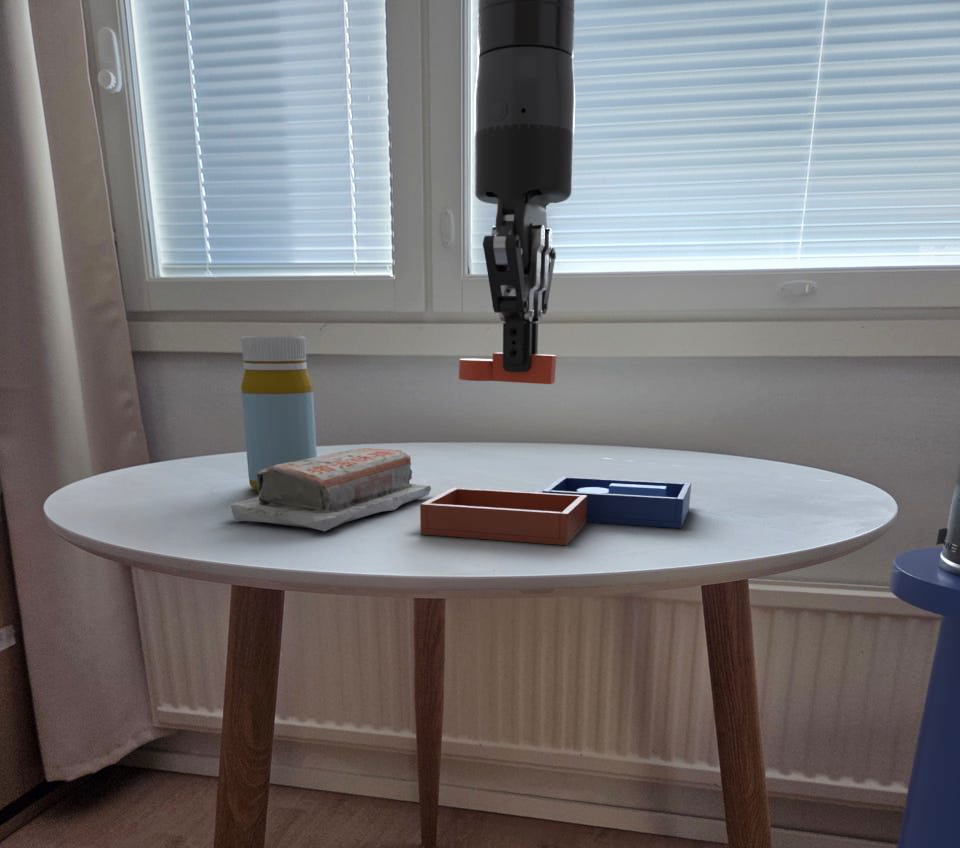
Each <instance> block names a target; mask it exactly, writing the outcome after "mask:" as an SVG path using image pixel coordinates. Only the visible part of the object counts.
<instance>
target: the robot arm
mask: <svg viewBox="0 0 960 848" xmlns="http://www.w3.org/2000/svg"><path fill="white" fill-rule="evenodd" d="M574 38H575V0H478V1H477V65H476V66H477V67H476V68H477V69H476V78H475V86H474V102H473V104H474V105H473V106H474V107H473V113H474V114H473V119H474V120H473V121H474V122H473V123H474V126H473V131H474V132H473V133H474V134H473V136H474V137H473V139H474V140H473V141H474V143H473V144H474V145H473V146H474V147H473V148H474V156H473V157H474V159H473V163H474V165H473V166H474V169H473V171H474V172H473V175H474V176H473V181H474V183H473V184H474V187H473V190H474V191H473V192H474V196H475V198H476V199H478V200H479V201H480V202H483V203H486V204H490V205H491V204H492V205H496V212H495V213H496V214H495V222H494V223H495V225H493V226H492V228H491V235H490V234H489V235H484V237H483V240H482V248H483V254H484V259H485V265H486V271H487V277H488V284H489V290H490V296H491V302H492V303H491V304H492V308H493V312H494V313H495V314H498V317H499V320H500V322H501V323H502V353H503V368H504V370H505V371H507V372H527V371H529V370H530V368H531V354H538V348H539V347H538V346H539V345H538V343H539V341H538V340H539V337H538V336H539V323H540V322H542V318H543V315H546V314H547V311H548V309H549V308H548V307H549V305H548V304H549V298H550V293H551V286H552V280H553V274H554V267H555V261H556V258H557V253H556V250H555V247H553V230H552V228H551V227H548V220H547V212H546V210H547V206H548V205H549V204H558V203H562V202H565V201H567V200H568V199H570V197H571V196H572V194H573V177H574V176H573V173H574V146H575V144H574V143H575V115H576V113H575V111H576V86H575V75H574V46H575V45H574V41H575V39H574ZM949 509H950V510H949V515H948V521H947V527H944V528H938V533H937V539H936V543H935V545H942V547H943V551H942V552H941V555H940V560H939V566H940V567H941V568H942V569H944V570H945V571H947V572H949V573H952V574H954V575H957V576H960V462H959V463H958V468H957V474H956V478H955V484H954V490H953V494H952V500H951V505H950V508H949Z"/></svg>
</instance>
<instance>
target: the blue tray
mask: <svg viewBox="0 0 960 848" xmlns="http://www.w3.org/2000/svg"><path fill="white" fill-rule="evenodd" d="M611 483H616V484H634V485H653V486H667V493H666V497H657V496H640V495H622V494H605V493H588V492H577V489H579V488H586V487H599V488H606V489H609V485H610V484H611ZM691 491H692V483H689V482H685V483H684V482H675V481H674V482H673V481H671V482H670V481H656V480H655V481H653V480H636V479H634V480H633V479H617V478H616V479H615V478H600V477H599V478H597V477H596V478H595V477H581V476H580V477H578V476H576V477H575V476H561V477H559V478H558V479H557V480H555V481H554V482H552V483H551V484H549V485H548V486H547V487H545V488H544V489H543V490H542V491H541V493H555V494H572V495H587V515H586V523H594V524H595V523H597V524H611V525H625V526H639V527H640V526H641V527H653V528H654V527H657V528H670V529H682V527H683V524H684V522H685V520H686V518H687V515H688V513H689V511H690V504H691V503H690V502H691Z"/></svg>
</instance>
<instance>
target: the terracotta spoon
mask: <svg viewBox="0 0 960 848" xmlns="http://www.w3.org/2000/svg"><path fill="white" fill-rule="evenodd" d="M556 361H557V355H556V354H539V353H537V354H531V368H530V370H529V371H527V372H507V371H505V370H504V368H503V352H493V353H492V359H490V358H460V359H459V360H458V379H459V380H460V381H461V380H462V381H471V382H503V383H521V384H539V385H552V384H555V383H556V382H555V381H556V365H557V364H556V363H557V362H556Z"/></svg>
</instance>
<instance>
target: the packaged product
mask: <svg viewBox="0 0 960 848" xmlns="http://www.w3.org/2000/svg"><path fill="white" fill-rule="evenodd" d="M411 465H412V462H411V456H410V455H409V454H407V453H405V452H403V450H400V449H386V448H385V449H384V448H369V447H368V448H367V447H366V448H356V449H350V450H345V451H340V452H333V453H329V454H328V453H327V454H324V455H319V456H317V457H314V458H309V459H304V460H299V461H293V462H288V463H283V464H277V465H274V466H270V467H268V468H265V469H263V470H260V471H259V473H258V474H257V478H256V480H257V485H258V491H259V492H258V496H256V497H252V498H249V499H243V500H240V501H235V502H231V503H230V505H229V506H230V509H231V513H232V517H233V520H234V521H239V522H240V521H242V522H258V523H266V524H274V525H282V526H289V527H297V528H305V529H311V530H319V531H322V532H327V531H329V530H332V529H334V528H336V527H339V526H340V525H343V524H345V523H349V522H352V521H355V520H359V519H362V518H365V517H368V516H371V515H374V514H379V513H381V512H388V511H389V512H390V511H395V510H396V509H398V508H399V507H400V506H403V505H405V504H408V503H410V502H413V501H416V500H418V499H422V498H424V497H426V496H429V495H430V493H431V490H432V486H431V485H423V484H416V483H415V484H414V483H410V481H411V480H412V479H413V475H412V474H413V470H412V468H411Z"/></svg>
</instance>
